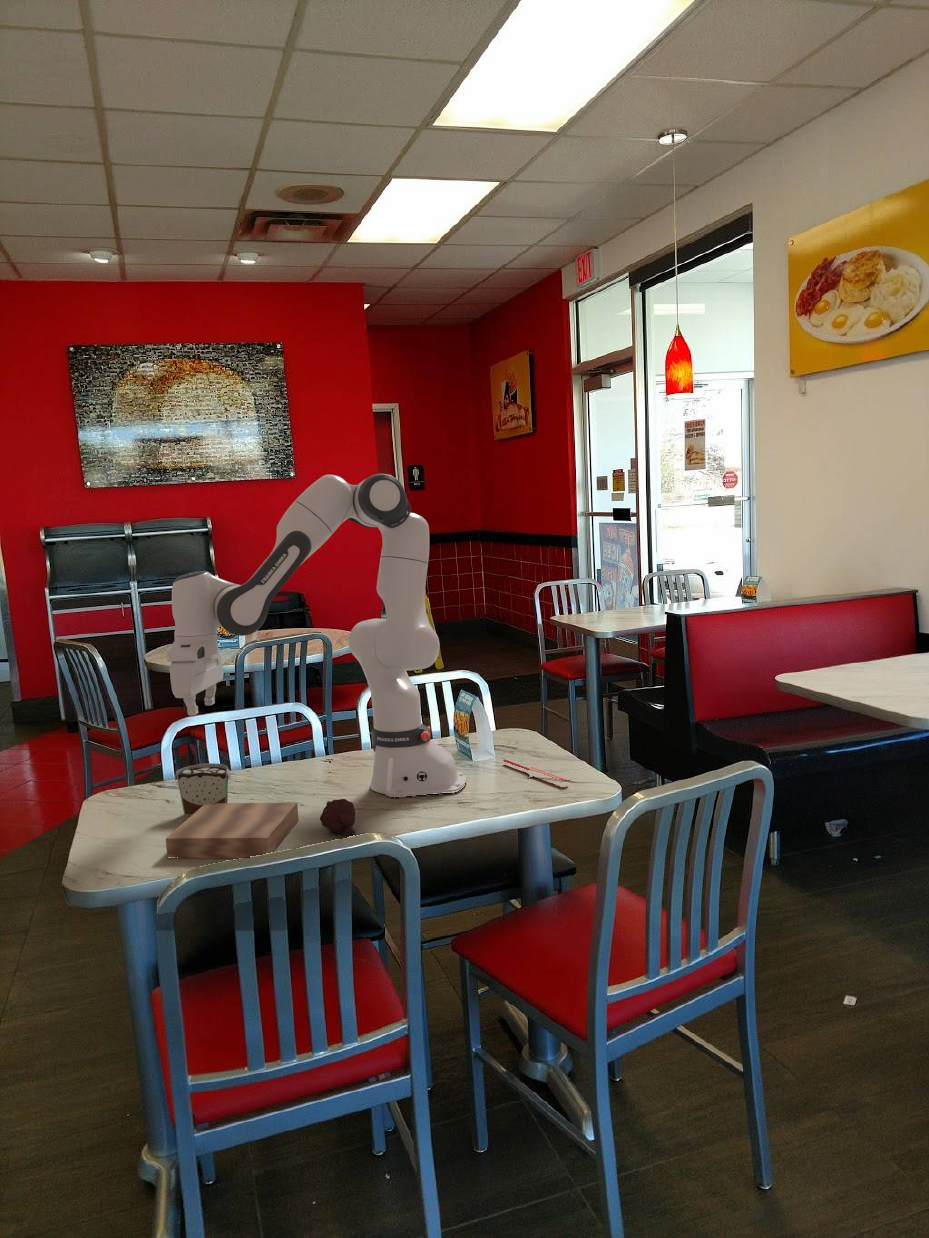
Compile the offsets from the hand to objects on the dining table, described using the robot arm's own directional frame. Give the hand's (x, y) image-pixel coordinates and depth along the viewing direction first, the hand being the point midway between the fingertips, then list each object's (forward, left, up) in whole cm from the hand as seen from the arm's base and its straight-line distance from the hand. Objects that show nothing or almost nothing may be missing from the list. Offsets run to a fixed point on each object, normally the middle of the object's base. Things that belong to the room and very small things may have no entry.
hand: (201, 709), depth 196 cm
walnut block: (-12, +17, -23) cm, 31 cm away
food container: (0, 0, -23) cm, 23 cm away
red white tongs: (-71, -22, -23) cm, 78 cm away
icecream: (-32, +13, -23) cm, 42 cm away
